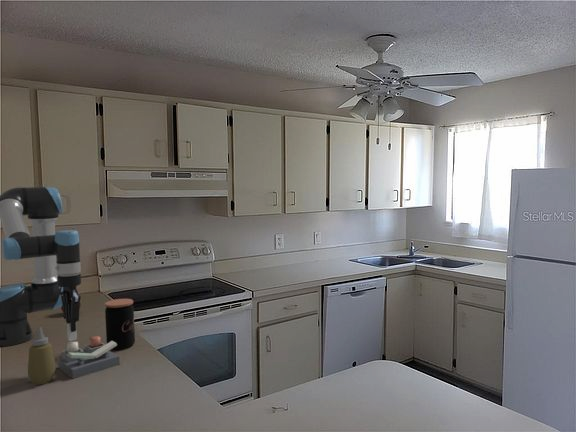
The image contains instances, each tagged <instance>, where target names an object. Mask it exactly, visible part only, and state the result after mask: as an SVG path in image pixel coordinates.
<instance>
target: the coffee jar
mask: <svg viewBox="0 0 576 432" xmlns="http://www.w3.org/2000/svg"><path fill="white" fill-rule="evenodd" d="M133 304H134V300H133V299H131V298H116V299H112V300H108V301H106V302H105V303H104V306H105V310H104V315H105V317H104V318H105V334H106V335H105V337H106V344H107V343H109V342H111V341H113V342H115V343H117V346H115V347H114V348H112V349H111V350H110V351H121V350H126V349H129V348H132V347H133V346H134V344H135V342H136V335H135V333H136V332H135V331H136V330H135V311H134V310H135V309H134V305H133Z"/></svg>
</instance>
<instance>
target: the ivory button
mask: <svg viewBox="0 0 576 432" xmlns="http://www.w3.org/2000/svg"><path fill="white" fill-rule="evenodd" d="M79 348H80V347H79V341H69V342H68V343H66V350H67V354H68V352H70V353H77V352H79Z"/></svg>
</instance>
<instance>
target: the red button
mask: <svg viewBox="0 0 576 432" xmlns="http://www.w3.org/2000/svg"><path fill="white" fill-rule="evenodd" d="M101 342H102V337H101V336H100V335H94V336H90V337H89V344H90V347H91V348H95V347H99V346H101Z"/></svg>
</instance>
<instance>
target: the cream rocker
mask: <svg viewBox="0 0 576 432" xmlns="http://www.w3.org/2000/svg"><path fill="white" fill-rule="evenodd" d="M105 344H106V345H104V346H102V347H101V348H99V349H97V350H96V351H94V352H92V353H91V354H93V355H95V358H97V357H99V356H101V355H102V354H104V353H106V354H108V352H109V351H112V350H111V349H112V348H114V347H115V346H117V343H115V342H113V341H111V342H109V343H107V342H106V343H105Z"/></svg>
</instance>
